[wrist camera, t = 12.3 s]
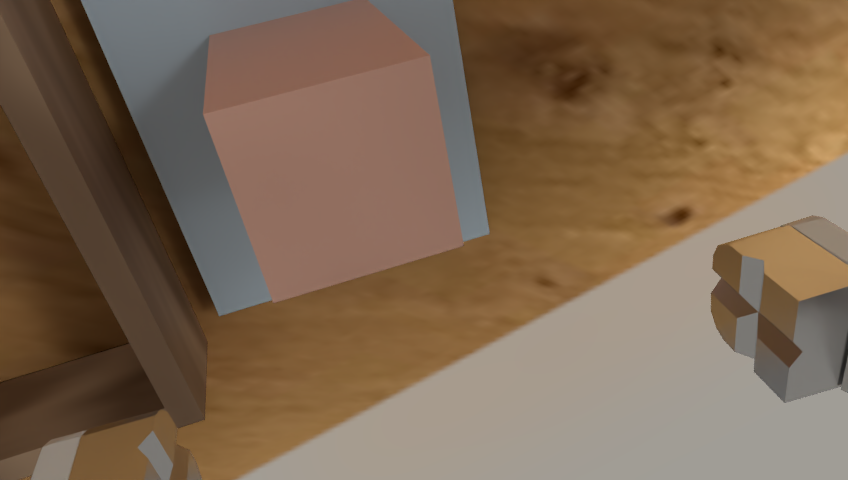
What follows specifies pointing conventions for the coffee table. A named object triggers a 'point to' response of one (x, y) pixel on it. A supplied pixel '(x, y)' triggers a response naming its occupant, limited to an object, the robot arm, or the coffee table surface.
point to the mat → (189, 135)
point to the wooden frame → (92, 256)
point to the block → (331, 145)
